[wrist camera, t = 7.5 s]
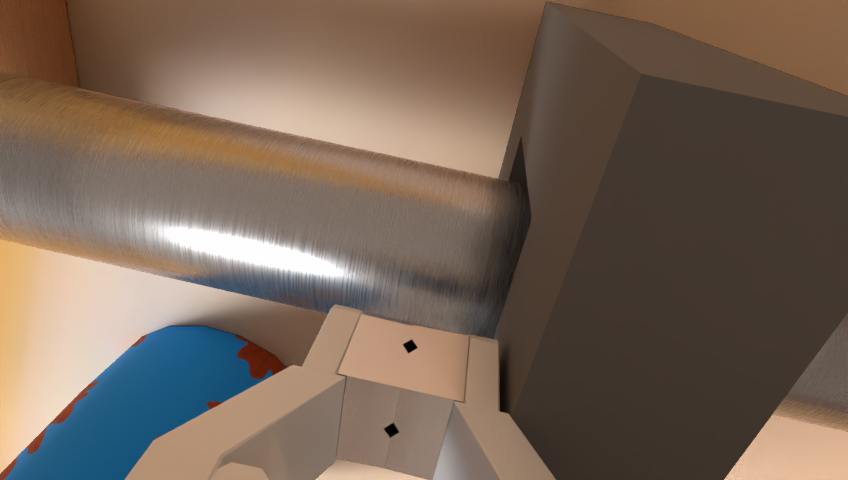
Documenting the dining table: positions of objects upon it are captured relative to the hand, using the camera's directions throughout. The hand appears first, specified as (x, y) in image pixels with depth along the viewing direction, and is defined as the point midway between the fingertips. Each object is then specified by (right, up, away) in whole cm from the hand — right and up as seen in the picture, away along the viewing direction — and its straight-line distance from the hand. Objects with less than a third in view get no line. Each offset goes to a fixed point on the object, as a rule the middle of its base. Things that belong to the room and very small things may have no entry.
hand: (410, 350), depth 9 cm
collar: (+4, +4, +8) cm, 10 cm away
